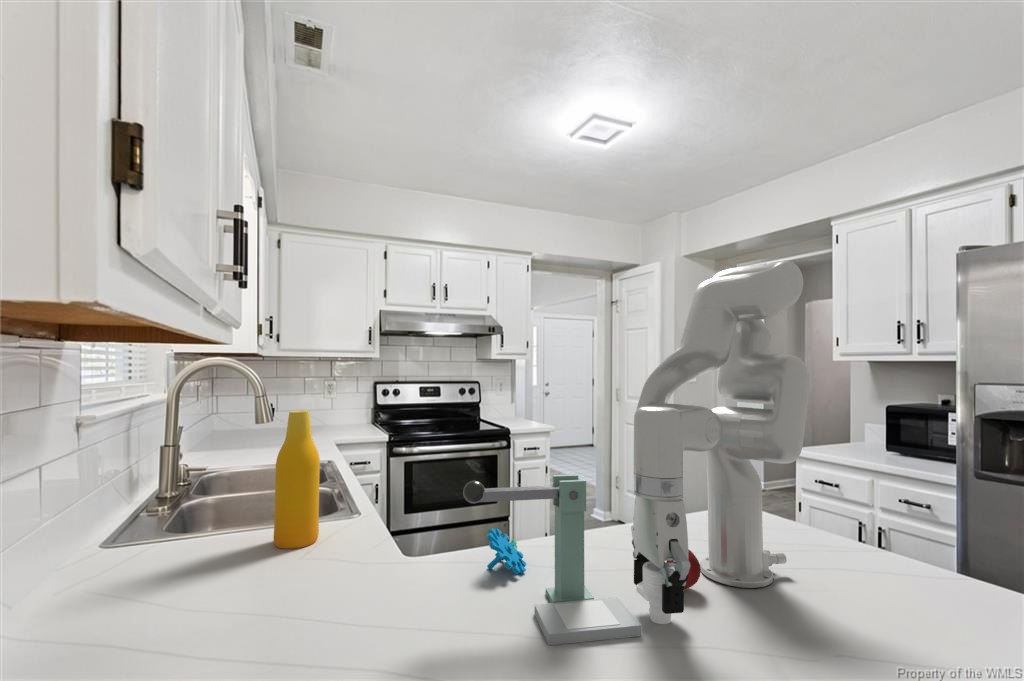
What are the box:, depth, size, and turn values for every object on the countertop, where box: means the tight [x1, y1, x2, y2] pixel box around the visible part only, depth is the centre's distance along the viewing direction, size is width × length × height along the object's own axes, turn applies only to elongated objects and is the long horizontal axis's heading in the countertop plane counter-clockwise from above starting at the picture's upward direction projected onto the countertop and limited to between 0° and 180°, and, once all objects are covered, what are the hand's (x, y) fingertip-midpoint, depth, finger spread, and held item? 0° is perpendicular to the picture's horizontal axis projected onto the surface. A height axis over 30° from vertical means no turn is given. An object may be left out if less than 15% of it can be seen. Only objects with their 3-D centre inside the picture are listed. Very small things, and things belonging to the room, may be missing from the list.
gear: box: [486, 528, 527, 575], centre depth 98 cm, size 11×6×10 cm
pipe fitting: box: [635, 561, 675, 625], centre depth 78 cm, size 6×7×8 cm
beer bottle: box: [273, 410, 321, 550], centre depth 112 cm, size 9×9×29 cm
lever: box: [462, 480, 559, 504], centre depth 84 cm, size 20×4×4 cm, turn 101°
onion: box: [665, 548, 702, 591], centre depth 89 cm, size 6×6×8 cm
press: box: [533, 474, 642, 646], centre depth 80 cm, size 14×16×20 cm
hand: (657, 597), depth 78 cm, fingers open, 9 cm apart
